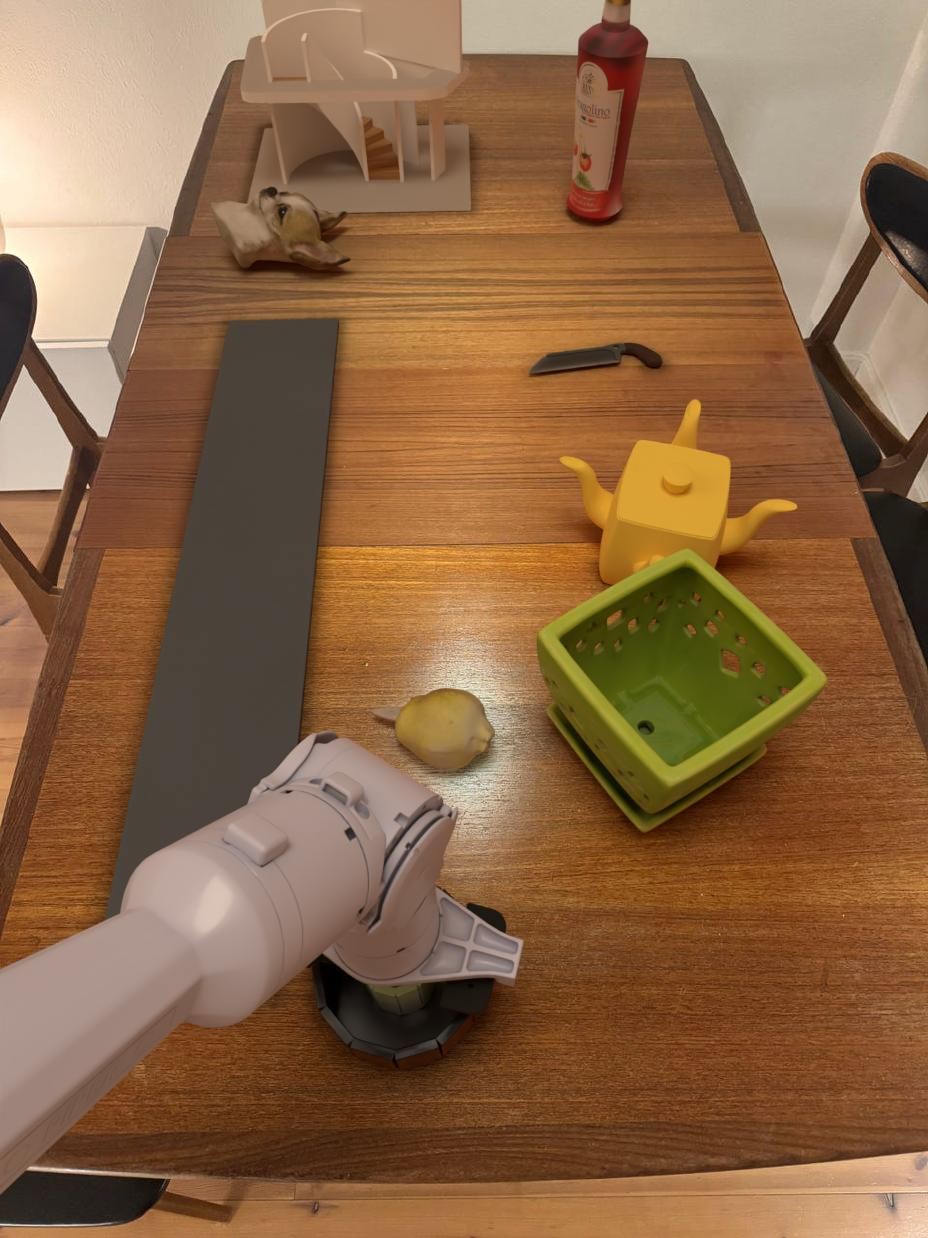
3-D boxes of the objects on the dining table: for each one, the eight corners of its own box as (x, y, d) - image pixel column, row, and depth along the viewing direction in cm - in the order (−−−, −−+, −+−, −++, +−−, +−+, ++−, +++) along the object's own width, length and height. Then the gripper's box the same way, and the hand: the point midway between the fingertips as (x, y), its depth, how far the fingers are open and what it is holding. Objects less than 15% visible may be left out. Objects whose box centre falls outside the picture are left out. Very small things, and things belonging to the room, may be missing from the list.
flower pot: (781, 766, 65) (839, 680, 55) (635, 867, 61) (668, 794, 51) (659, 636, 72) (690, 536, 62) (520, 718, 68) (528, 627, 57)
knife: (651, 342, 93) (652, 337, 92) (663, 367, 91) (664, 361, 90) (523, 359, 92) (523, 353, 91) (531, 384, 89) (531, 378, 89)
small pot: (426, 1024, 55) (421, 1004, 50) (358, 1004, 56) (346, 983, 51) (445, 953, 58) (442, 928, 53) (379, 935, 58) (370, 909, 53)
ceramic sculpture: (209, 162, 98) (344, 161, 99) (223, 234, 105) (348, 231, 107) (204, 216, 92) (347, 214, 94) (219, 288, 99) (352, 285, 101)
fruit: (388, 686, 70) (509, 705, 67) (371, 760, 68) (494, 782, 65) (365, 666, 64) (495, 685, 62) (345, 745, 63) (479, 769, 60)
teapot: (637, 642, 72) (657, 569, 64) (546, 527, 79) (554, 449, 71) (775, 572, 76) (811, 496, 68) (677, 469, 83) (698, 389, 75)
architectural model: (244, 214, 108) (193, -5, 88) (264, 127, 120) (223, -82, 100) (471, 210, 108) (469, -10, 88) (468, 124, 120) (467, -87, 100)
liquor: (551, 214, 107) (572, -63, 84) (586, 188, 110) (616, -84, 87) (600, 235, 104) (635, -44, 81) (635, 209, 107) (678, -67, 84)
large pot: (458, 1090, 53) (457, 1080, 50) (299, 1042, 55) (286, 1029, 51) (499, 922, 59) (500, 902, 55) (354, 883, 61) (345, 861, 57)
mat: (275, 993, 57) (274, 992, 56) (90, 998, 57) (88, 996, 56) (339, 322, 96) (338, 318, 95) (229, 324, 96) (228, 320, 95)
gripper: (541, 856, 43) (528, 930, 55) (269, 787, 46) (310, 871, 57) (508, 1004, 40) (501, 1050, 51) (213, 920, 42) (269, 982, 53)
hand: (398, 963), depth 54 cm, fingers open, 7 cm apart
